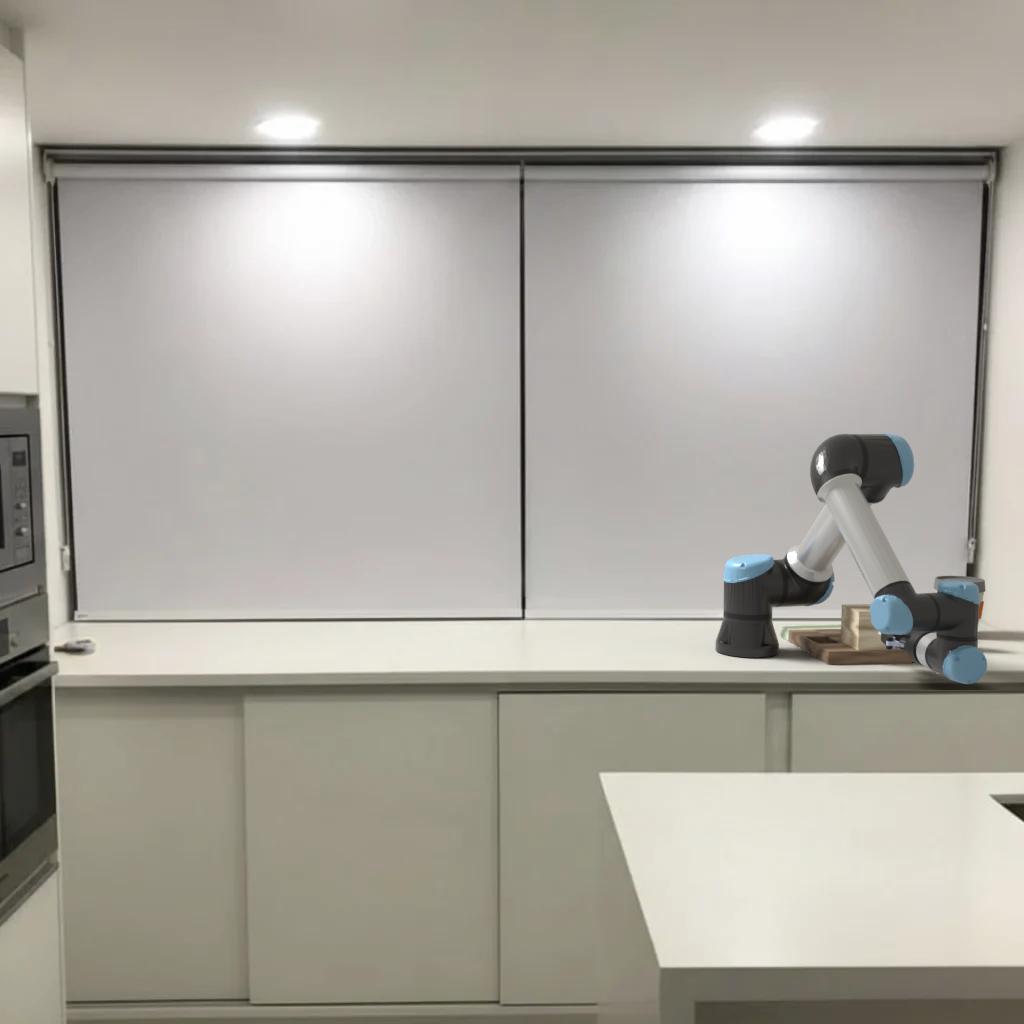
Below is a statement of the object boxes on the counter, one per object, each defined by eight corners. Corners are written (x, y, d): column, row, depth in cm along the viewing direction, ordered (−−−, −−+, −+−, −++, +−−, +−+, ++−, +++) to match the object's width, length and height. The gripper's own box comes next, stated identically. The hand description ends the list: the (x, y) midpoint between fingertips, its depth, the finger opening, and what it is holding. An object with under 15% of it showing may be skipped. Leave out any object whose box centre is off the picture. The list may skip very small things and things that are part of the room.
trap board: (919, 662, 245) (920, 650, 245) (828, 664, 243) (828, 651, 243) (861, 635, 277) (861, 624, 276) (780, 636, 275) (780, 625, 274)
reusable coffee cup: (923, 634, 278) (925, 578, 276) (946, 628, 286) (948, 574, 284) (969, 642, 268) (972, 584, 267) (992, 635, 276) (994, 579, 275)
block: (887, 649, 245) (888, 611, 244) (858, 650, 244) (859, 611, 243) (868, 640, 255) (869, 604, 254) (840, 641, 254) (841, 604, 253)
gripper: (901, 668, 216) (853, 644, 240) (961, 667, 217) (908, 643, 241) (902, 632, 216) (854, 612, 239) (963, 631, 217) (909, 611, 240)
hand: (881, 628), depth 240 cm, fingers closed
